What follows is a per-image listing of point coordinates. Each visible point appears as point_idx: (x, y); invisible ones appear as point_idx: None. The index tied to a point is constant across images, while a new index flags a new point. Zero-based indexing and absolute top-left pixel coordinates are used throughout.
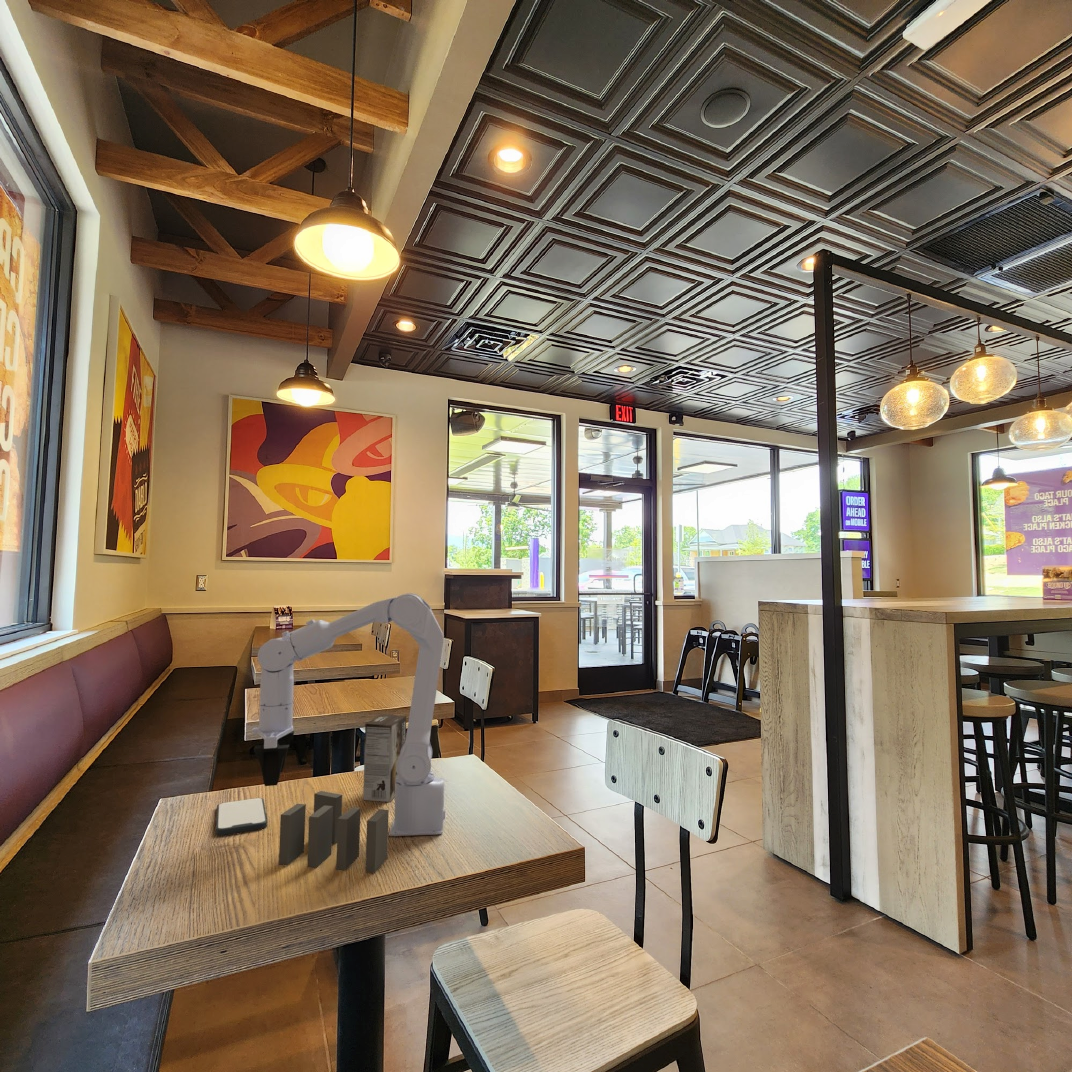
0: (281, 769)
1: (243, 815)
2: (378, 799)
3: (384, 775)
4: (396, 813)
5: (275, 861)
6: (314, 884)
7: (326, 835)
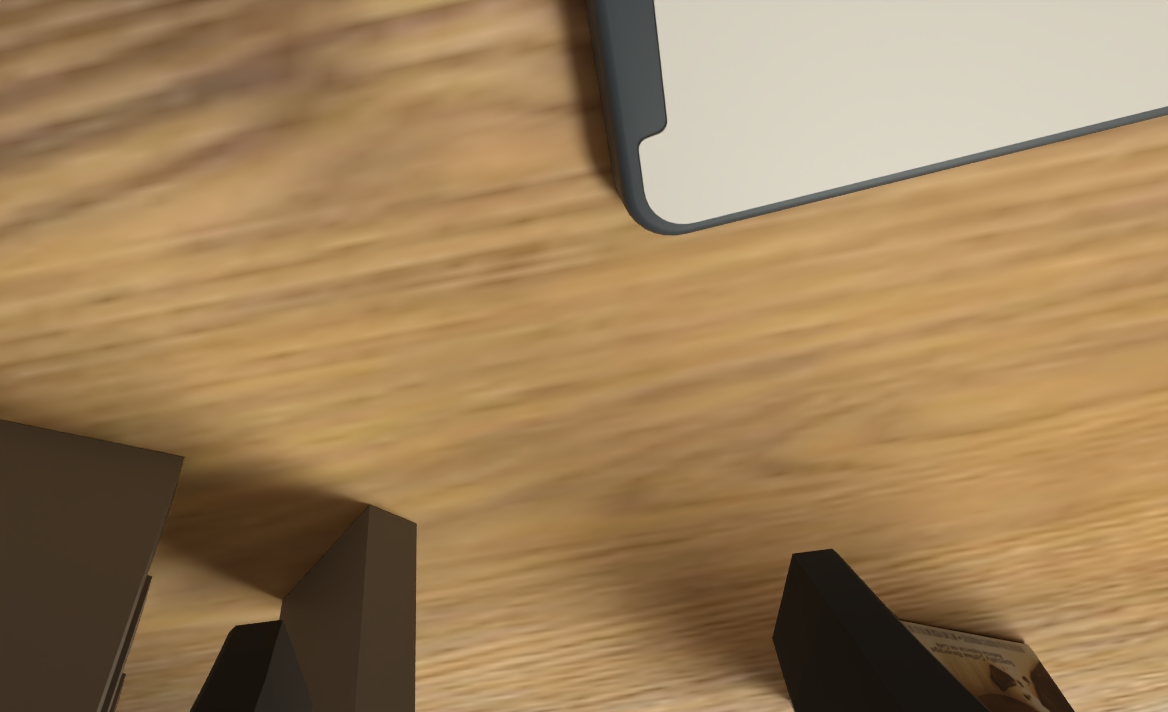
0: (783, 663)
1: (885, 13)
2: None
3: None
4: None
5: (21, 384)
6: None
7: None
